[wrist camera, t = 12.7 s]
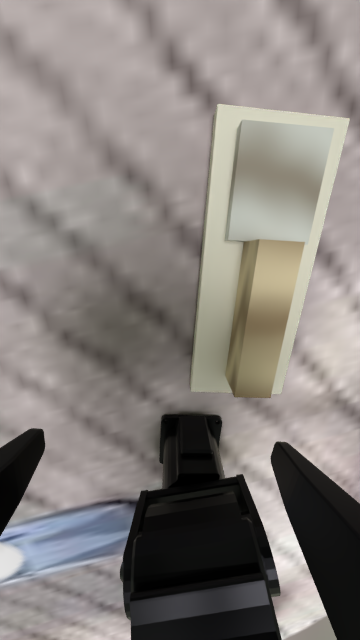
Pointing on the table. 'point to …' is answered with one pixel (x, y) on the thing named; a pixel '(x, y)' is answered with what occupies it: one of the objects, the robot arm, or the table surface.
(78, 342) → the table surface
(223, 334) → the board
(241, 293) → the turner
